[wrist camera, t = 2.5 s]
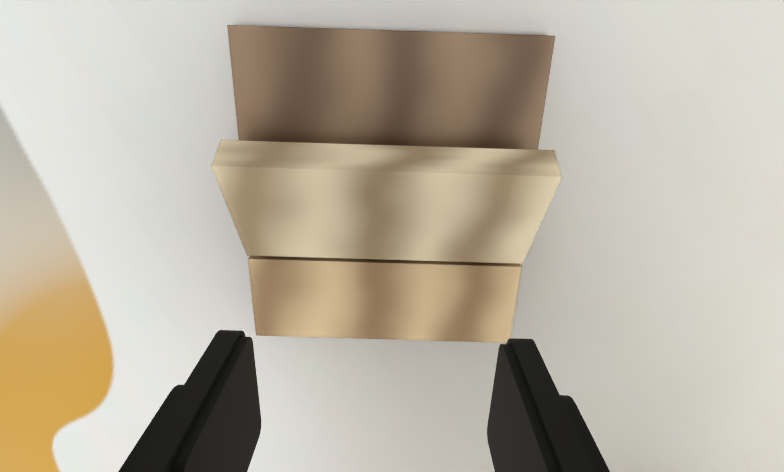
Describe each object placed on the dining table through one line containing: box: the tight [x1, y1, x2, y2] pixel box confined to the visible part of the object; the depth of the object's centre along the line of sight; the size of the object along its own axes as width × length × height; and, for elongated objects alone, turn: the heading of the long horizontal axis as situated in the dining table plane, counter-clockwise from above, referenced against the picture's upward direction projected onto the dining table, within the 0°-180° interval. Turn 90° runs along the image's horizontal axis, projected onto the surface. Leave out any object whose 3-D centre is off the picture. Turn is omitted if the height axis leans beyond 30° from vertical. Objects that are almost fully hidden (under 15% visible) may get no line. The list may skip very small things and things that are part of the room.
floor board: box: [227, 25, 555, 343], centre depth 30 cm, size 19×21×4 cm
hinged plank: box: [211, 140, 562, 264], centre depth 27 cm, size 18×8×2 cm, turn 88°
